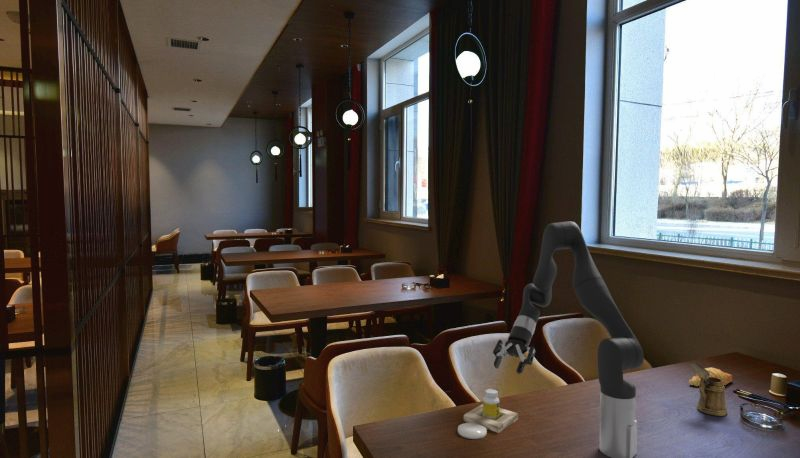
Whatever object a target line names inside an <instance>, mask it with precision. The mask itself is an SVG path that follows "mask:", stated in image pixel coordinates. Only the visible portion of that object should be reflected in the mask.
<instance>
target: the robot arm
mask: <svg viewBox="0 0 800 458" xmlns="http://www.w3.org/2000/svg"><path fill="white" fill-rule="evenodd" d="M542 235H543V236H542V241H541V245H540V246H541V247H540V254H539V262H538V265H537V268H536V271H535V273H534V276H533V279H532V282H531V283H528V284H526V285H525V287H524V288H523V290H522V291H523V294H522V303H521V308H520V309H519V313H518V315H517V317H516V320H515V321H514V323H513V326H512V328H511V330H510V333H509V335H508V338H507V341H503V340H502V339H498V341H497V343H496V345H495V346H494V349H493V351H492V354H493V355H494V357H495V359H494V361H493V366H494V368H495V369H497V370H498V369H499V368H500V365H501V362H502V360H503V359H504V358H507V357H509V356H510V357H515V358H519V359H520V361H519V362H518V365H517V368H516V369H515V370H516V373H517V375H521V374H522V373H523V371H524V369H525V367H526V366H527V365H529V366H530V365H531V366H532V364H533V361H534V358H535V355H536V353H537V352H536V349H535V347H534V346H532V345H531V346H529V345H530V343H531V340H532V338H533V335H534V334H535V330H536V326H537V323H538V321H539V319H540V315H541V310H540V309H539V308H538V307H542V308H546V307H548V306H550V303H551V302H552V298H553V293H552V287H553V284H554V282H555V280H556V277H557V273H558V272H557V271H558V267H557V264H556V262H555V259H554V258H553V256H554V253H555V252H556V251H560V250H561V251H562V250H570V251H571V253H572V255H573V258H574V263H575V264H574V270H573V274H572V279H571V280H572V281H571V285H572V288H573V291H574V292H575V295H576V297H577V300H578V302H579V303H580V305H581V306H582V307H583V309H585V311H587V312H588V313H589V314H590V315H591V316H593V318H595V319H596V320H597V321H598V322H599V323H601V324H602V326H603V327H604V328H605V329H606V331H607V332H608V334H609V336H610V337H607V338H603V339H602V340H601V341H600V342H599V343H598V346H597V353H596V354H597V378H598V381H599V385H600V394H599V395H600V396H599V397H600V398H599V399H600V400H599V401H600V402H599V439H598V440H599V441H598V444H599V446H598V447H599V452H601V454H603V455H605V456H606V457H608V458H634V457H635V455H636V454H637V448H638V447H637V441H638V420H636V394H637V390H636V389H637V388H636V386H635V384H633V383H632V382H631V381H629V380H626V379H624V371H629V370H635V369H638V368H640V367H642V365H643V363H644V360H645V358H644V355H645V354H644V352H643V347H642V346H641V344H640V342H639V339H638V338H637V337H636V335H635V334H634V332H633V331H632V329H631V328H630V326H629V325H628V323H627V321H626V320H625V319H624V316H623V315H622V313H621V312H620V310H619V308H618V306H617V304H616V303H615V301H614V299H613V297H612V295H611V293H610V291H609V288H608V287H607V285H606V284H607V283H606V281H604V278H603V277H602V275H601V274H600V272H599V269H598V268H597V266H596V264H595V262H594V260H593V258H592V255H591V253H590V251H589V249H588V245H587V243H586V240H585V238H584V237H585V236H584V235H583V232H582V229H581V228H580V226H579V225H578V224H577V223H576V222H575V221H559V222H552V223H549V224H547V226H546V227H545V228H544V231H543V234H542ZM537 306H538V307H537ZM527 352H528V353H527ZM526 353H527V356H526V357H525V355H524V354H526Z"/></svg>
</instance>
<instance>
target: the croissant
mask: <svg viewBox="0 0 800 458" xmlns="http://www.w3.org/2000/svg"><path fill="white" fill-rule="evenodd" d="M703 368H704V369H706V370H707V372H708V373H709V376H710V377H716V378H719V379H721V380H723V383H724V385H725V386H726V385H728V384H729V383H731V382H732V380H733V378H734V376H733V375H732V374H730V373H728V372H724V371H722V370H721V369H719V368H716V367H711V366H710V367H703ZM700 380H701V379H700V377H699V376H697V375H696V374H695V375H694V376H692V377H691V378H690V379H689V380H688V384H689V385H691V386H693V385H694V387H698V386H699V385H700Z"/></svg>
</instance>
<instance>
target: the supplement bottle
mask: <svg viewBox="0 0 800 458" xmlns="http://www.w3.org/2000/svg"><path fill="white" fill-rule="evenodd" d="M498 395H499V394H498V390H496V389H494V388H487V389H485V395H484V397H483V398H482V404H483V417H485V418H488V419H491V420H494V421H495V420H497V419H498V418H499V408H500V398H499V397H498Z"/></svg>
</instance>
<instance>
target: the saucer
mask: <svg viewBox="0 0 800 458" xmlns="http://www.w3.org/2000/svg"><path fill="white" fill-rule="evenodd" d="M487 430H488V429H486V428H485V427H484V426H483V425H480V424H477V423H468V422H465V423H464V422H463V423H462V424H459V425H458V427H457V434H458V435H459V436H460V437H463V438H464V439H471V440H478V439H483V438H485V437H487V434H488V433H487V432H488V431H487Z"/></svg>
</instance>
